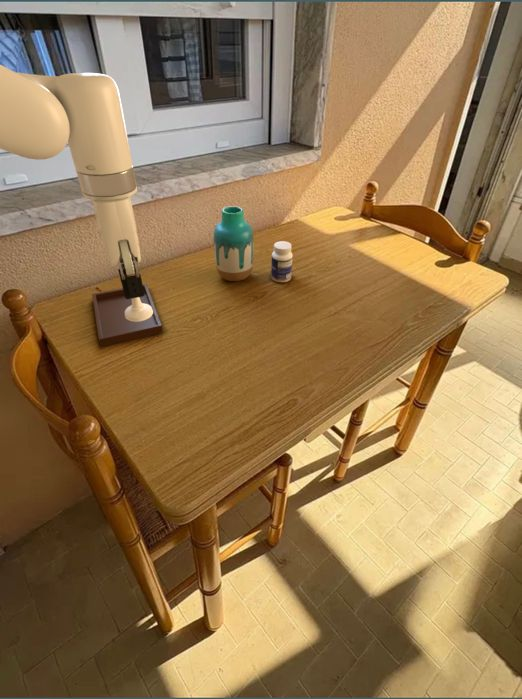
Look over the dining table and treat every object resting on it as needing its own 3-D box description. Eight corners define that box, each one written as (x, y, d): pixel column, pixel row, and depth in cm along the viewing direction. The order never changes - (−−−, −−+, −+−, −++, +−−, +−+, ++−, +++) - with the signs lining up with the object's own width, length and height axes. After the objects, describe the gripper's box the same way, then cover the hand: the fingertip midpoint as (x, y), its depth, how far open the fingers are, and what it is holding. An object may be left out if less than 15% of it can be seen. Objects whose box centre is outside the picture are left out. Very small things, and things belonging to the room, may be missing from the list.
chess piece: (120, 312, 69) (106, 262, 62) (144, 303, 71) (134, 253, 65) (133, 325, 66) (120, 273, 59) (158, 314, 68) (148, 264, 62)
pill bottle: (269, 273, 109) (270, 240, 102) (289, 272, 109) (291, 239, 103) (272, 283, 105) (273, 250, 98) (292, 282, 105) (295, 249, 99)
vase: (216, 288, 102) (211, 218, 90) (215, 269, 110) (210, 202, 98) (255, 286, 103) (256, 217, 91) (251, 267, 111) (251, 201, 99)
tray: (101, 346, 83) (98, 339, 82) (94, 300, 97) (91, 293, 96) (163, 332, 87) (161, 325, 86) (148, 290, 101) (146, 283, 100)
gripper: (77, 168, 58) (106, 275, 70) (82, 203, 47) (116, 323, 59) (127, 164, 60) (148, 268, 72) (144, 196, 49) (165, 313, 61)
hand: (133, 292), depth 66 cm, fingers closed on chess piece
